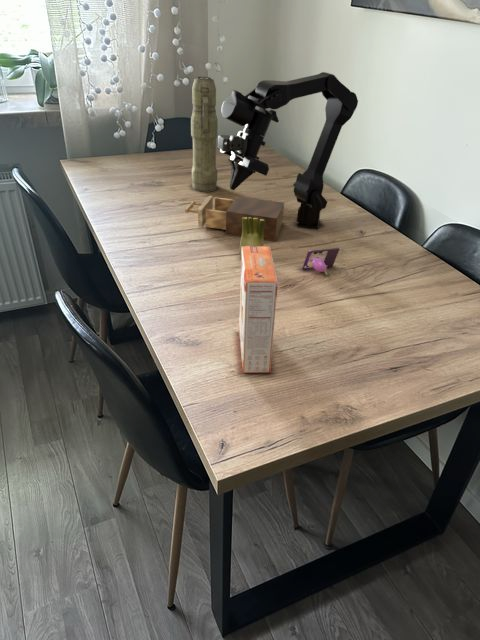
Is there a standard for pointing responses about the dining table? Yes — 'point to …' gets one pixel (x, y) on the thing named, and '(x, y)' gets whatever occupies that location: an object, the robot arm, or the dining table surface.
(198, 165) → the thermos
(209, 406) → the dining table surface
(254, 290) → the cracker box
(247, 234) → the fennel bulb
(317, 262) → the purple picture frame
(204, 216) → the drawer
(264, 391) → the dining table surface
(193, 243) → the dining table surface
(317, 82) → the robot arm
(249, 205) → the cabinet
